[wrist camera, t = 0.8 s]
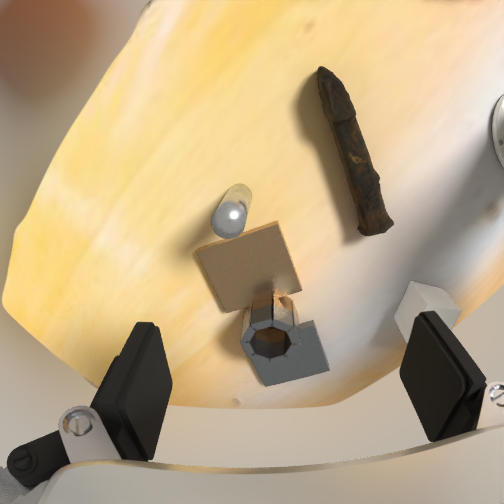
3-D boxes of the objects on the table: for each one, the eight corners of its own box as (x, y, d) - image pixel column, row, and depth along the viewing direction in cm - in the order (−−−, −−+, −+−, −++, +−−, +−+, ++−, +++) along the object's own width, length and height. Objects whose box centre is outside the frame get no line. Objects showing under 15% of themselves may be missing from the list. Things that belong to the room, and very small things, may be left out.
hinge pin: (246, 180, 35) (237, 202, 26) (255, 202, 36) (249, 232, 27) (223, 188, 35) (206, 213, 26) (232, 211, 36) (219, 243, 27)
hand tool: (386, 219, 36) (400, 232, 32) (356, 229, 36) (366, 243, 32) (340, 64, 29) (350, 56, 25) (307, 72, 30) (312, 65, 26)
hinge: (277, 220, 36) (278, 239, 31) (328, 365, 45) (333, 394, 39) (198, 248, 38) (186, 270, 33) (265, 381, 46) (264, 410, 41)
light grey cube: (442, 288, 39) (461, 311, 33) (425, 322, 41) (440, 347, 36) (410, 280, 39) (427, 304, 33) (392, 317, 41) (406, 343, 35)
